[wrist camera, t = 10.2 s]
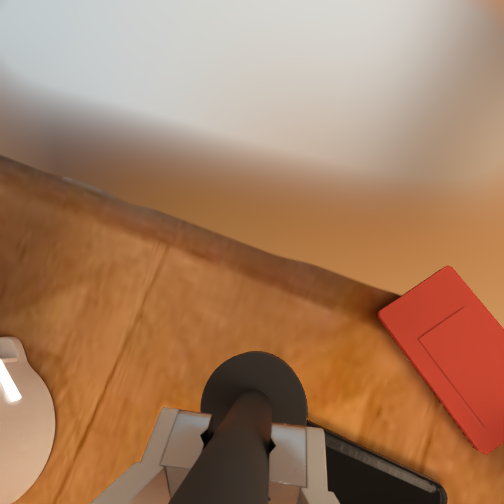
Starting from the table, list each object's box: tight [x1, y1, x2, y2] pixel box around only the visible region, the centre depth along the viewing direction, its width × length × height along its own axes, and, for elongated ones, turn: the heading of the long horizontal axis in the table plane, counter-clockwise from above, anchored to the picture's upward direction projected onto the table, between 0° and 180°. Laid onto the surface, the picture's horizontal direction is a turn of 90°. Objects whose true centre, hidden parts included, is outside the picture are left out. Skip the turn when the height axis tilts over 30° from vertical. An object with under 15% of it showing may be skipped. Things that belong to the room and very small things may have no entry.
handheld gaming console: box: [377, 266, 504, 454], centre depth 34 cm, size 9×1×15 cm
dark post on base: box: [168, 351, 308, 504], centre depth 11 cm, size 5×5×18 cm
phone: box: [306, 420, 447, 504], centre depth 32 cm, size 8×1×15 cm
